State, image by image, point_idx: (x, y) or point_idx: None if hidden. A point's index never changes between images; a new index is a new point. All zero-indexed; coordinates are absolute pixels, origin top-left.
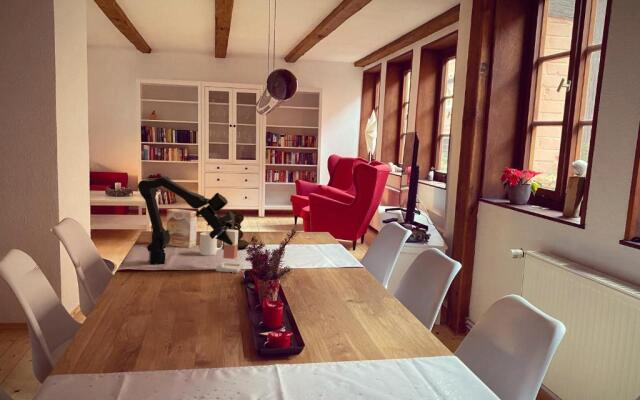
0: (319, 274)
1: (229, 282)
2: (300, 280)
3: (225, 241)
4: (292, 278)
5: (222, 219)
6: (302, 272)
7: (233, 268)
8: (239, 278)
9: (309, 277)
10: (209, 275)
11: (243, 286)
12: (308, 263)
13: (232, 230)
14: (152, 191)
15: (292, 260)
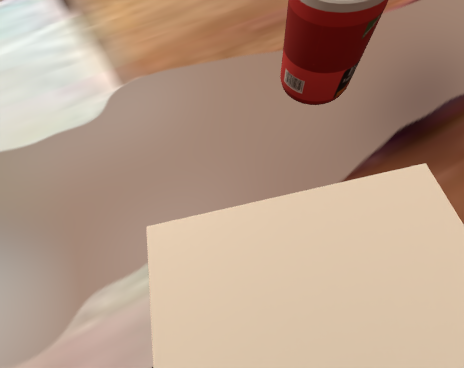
0: (167, 17)
1: (456, 178)
2: (256, 25)
3: None
4: (249, 46)
5: None
6: (167, 53)
7: None
8: (372, 174)
9: (212, 22)
10: None
11: (452, 112)
12: (48, 81)
13: (297, 349)
14: None
15: (17, 134)
